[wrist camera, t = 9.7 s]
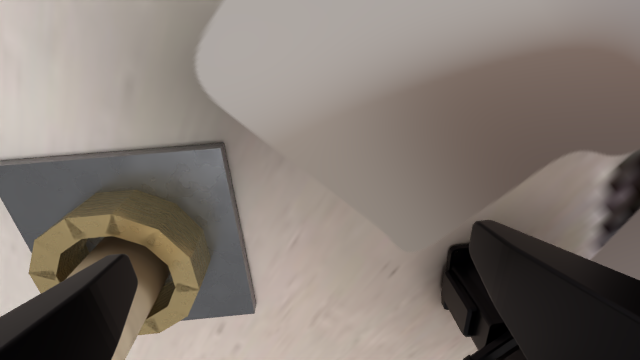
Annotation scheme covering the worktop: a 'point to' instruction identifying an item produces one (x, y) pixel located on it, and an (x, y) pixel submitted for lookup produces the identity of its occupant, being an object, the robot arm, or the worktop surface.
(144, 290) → the piston
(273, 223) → the worktop surface
